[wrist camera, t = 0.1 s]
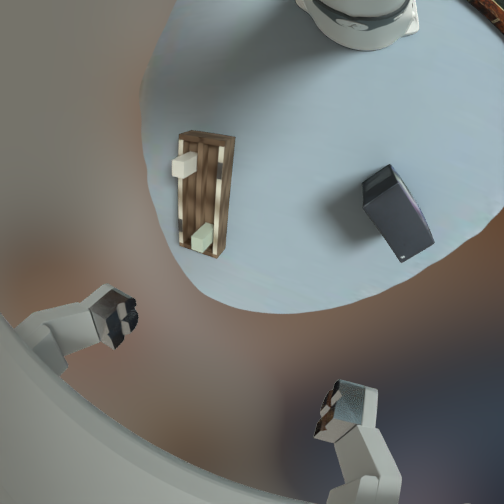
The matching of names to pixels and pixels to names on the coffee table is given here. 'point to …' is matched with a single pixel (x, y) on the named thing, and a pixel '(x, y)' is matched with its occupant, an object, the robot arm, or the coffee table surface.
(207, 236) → the sage tab
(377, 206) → the small box
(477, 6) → the book
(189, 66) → the coffee table surface
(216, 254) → the wooden shelf rack
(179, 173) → the offwhite block
